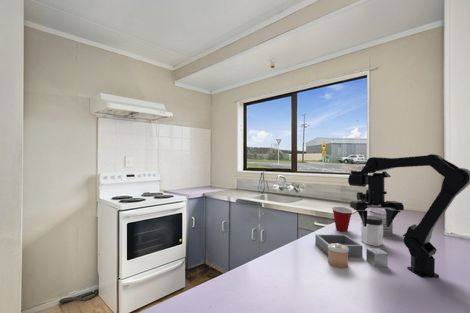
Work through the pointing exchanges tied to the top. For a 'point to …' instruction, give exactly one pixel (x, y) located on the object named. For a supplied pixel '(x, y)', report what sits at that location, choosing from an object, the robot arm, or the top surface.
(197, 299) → the top surface
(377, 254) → the steel block
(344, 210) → the plastic cup
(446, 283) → the top surface
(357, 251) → the tote
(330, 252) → the ceramic canister
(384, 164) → the robot arm
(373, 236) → the jar
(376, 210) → the can
